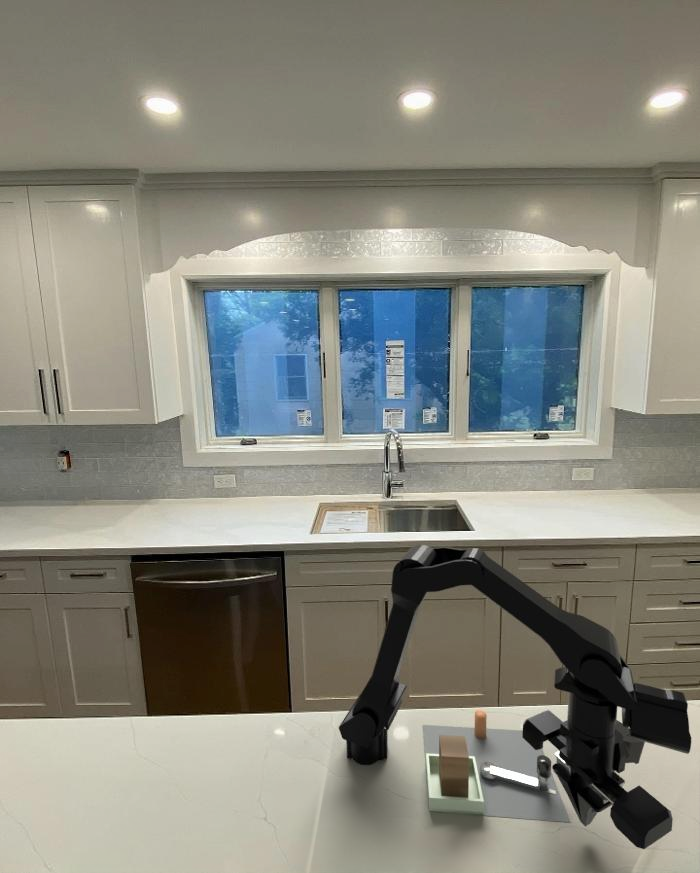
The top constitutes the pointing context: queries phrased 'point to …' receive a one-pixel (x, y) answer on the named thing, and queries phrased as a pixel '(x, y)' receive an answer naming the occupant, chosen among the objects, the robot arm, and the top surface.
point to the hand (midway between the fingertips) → (585, 822)
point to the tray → (453, 804)
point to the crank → (539, 783)
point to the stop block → (453, 766)
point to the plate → (508, 755)
